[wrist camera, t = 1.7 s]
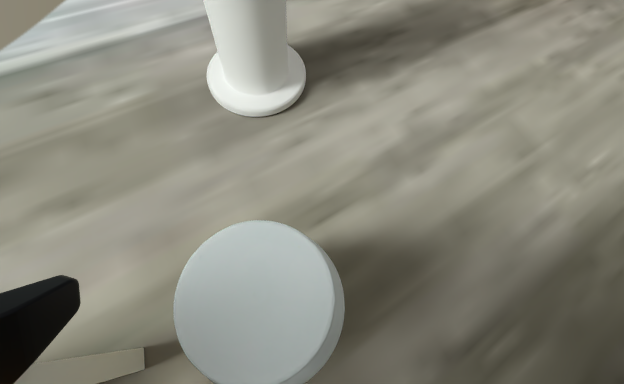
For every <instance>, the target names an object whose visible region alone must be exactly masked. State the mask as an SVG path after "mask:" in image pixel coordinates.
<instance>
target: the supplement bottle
mask: <svg viewBox="0 0 624 384" xmlns="http://www.w3.org/2000/svg"><path fill="white" fill-rule="evenodd" d="M173 310H174V324H175V329H176V333H177V337H178V340H179V342H180V345H181V347H182V349H183V351H184V353H185V355H186V356H187V357H188V359H189V360H190V362H191V363H192V364H193V365H194V366H195V367H196V368H197V369H198V370H199V371H200V372H201V373H202V374H203V375H205V376H206V377H207V378H208V379H209V380H211V381H212V382H213V383H215V384H304V383H305V382H307V381H308V380H309V379H311V378H312V377H313V376H314V375H315V374H316V373H317V372H318V371H319V370H320V369H321V368H322V367H323V366H324V365H325V364H326V362H327V361H328V359H329V358H330V356H331V354H332V353H333V351H334V349H335V347H336V345H337V343H338V340H339V337H340V334H341V331H342V327H343V322H344V313H345V302H344V292H343V287H342V283H341V280H340V277H339V274H338V272H337V270H336V267H335V266H334V264H333V262H332V261H331V259H330V258H329V256H328V255H327V254H326V252H325V251H324V250H323V249H322V248H321V247H320V246H319V245H318V244H317V243H315V242H314V241H313V240H312V239H310V238H309V237H307V236H305V235H304V234H303V233H301V232H300V231H298V230H296V229H294V228H293V227H291V226H289V225H285V224H282V223H279V222H275V221H267V220H252V221H245V222H241V223H237V224H234V225H231V226H229V227H227V228H224V229H223V230H221V231H219V232H217V233H216V234H214V235H213V236H212V237H210V238H209V239H207V240H206V241H205V242H204V243H203V244H202V245H201V246H200V247H199V248H198V249H197V250H196V251H195V252H194V254H193V255H192V256H191V258H190V259H189V261H188V262H187V264H186V265H185V267H184V269H183V271H182V274H181V276H180V279H179V282H178V285H177V288H176V292H175V297H174V307H173Z"/></svg>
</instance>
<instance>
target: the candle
mask: <svg viewBox="0 0 624 384" xmlns="http://www.w3.org/2000/svg"><path fill="white" fill-rule="evenodd" d="M203 1H204V5H205V8H206V12H207V15H208V19H209V22H210V26H211V29H212V33H213V36H214V40H215V43H216V47H217V50H218V52H217V53H216V54H215V55H214V56H213V58H212V59H211V61H210V63H209V65H208V69H207V83H208V86H209V89H210V91H211V93H212V95H213V97H214V98H215V100H216V101H217V102H218V103H219V104H220V105H221V106H223V107H224V108H226V109H227V110H229V111H231V112H233V113H236V114H239V115H243V116H250V117H263V116H269V115H273V114H276V113H279V112H281V111H283V110H285V109H287V108H288V107H290V106H291V105H292V104H293V103H295V102H296V101H297V99H298V98H299V97H300V95H301V94H302V92H303V89H304V87H305V82H306V70H305V65H304V63H303V60H302V59H301V57H300V56H299V54H298V53H297V52H296V51H295V50H294V49H293V48H292V47H290V46H289V45H287V19H286V0H203Z"/></svg>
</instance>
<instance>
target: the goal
mask: <svg viewBox="0 0 624 384" xmlns="http://www.w3.org/2000/svg"><path fill="white" fill-rule="evenodd" d="M141 370H145V363H144V347H143V348H136V349H129V350H122V351H115V352H109V353H102V354H95V355H88V356H81V357H74V358H68V359H61V360H54V361H47V362H40V363H33V364H32V365H31V366H30V367H29V368H28V369H27V370H26V371H25V372H24V373H23V374H22V376H21V377H20V378H19V379H18V380H17V381H16V382H15V383H14V384H97V383H101V382H104V381H107V380H111V379H114V378H118V377H121V376H124V375H128V374H131V373H135V372H138V371H141Z"/></svg>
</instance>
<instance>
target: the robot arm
mask: <svg viewBox="0 0 624 384" xmlns="http://www.w3.org/2000/svg"><path fill="white" fill-rule="evenodd" d="M79 307H80V292H79V283H78V281H77V280H76V279H74V278H71V277H67V276H64V275H59V276H55V277H52V278H49V279H46V280H42V281H39V282H36V283H33V284H29V285H26V286H23V287H19V288H16V289H13V290H10V291H6V292H3V293H0V384H14V383H15V382H16V381H17V380H18V379H19V378H20V377H21V376H22V374H23V373H24V372H25V371H26V370H27V369H28V368H29V367H30V366H31V365H32V364H33V363H34V362H35V360H36V359H37V358H38V357H39V356H40V355H41V353H42V352H43V351H44V350H45V349H46V348H47V346H48V345H49V344H50V343H51V342H52V341H53V339H54V338H55V337H56V336H57V335H58V334H59V332H60V331H61V330H62V329H63V328H64V327H65V325H66V324H67V323H68V322H69V321H70V320H71V318H72V317H73V316H74V315H75V314H76V312H77V311H78V309H79Z"/></svg>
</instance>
